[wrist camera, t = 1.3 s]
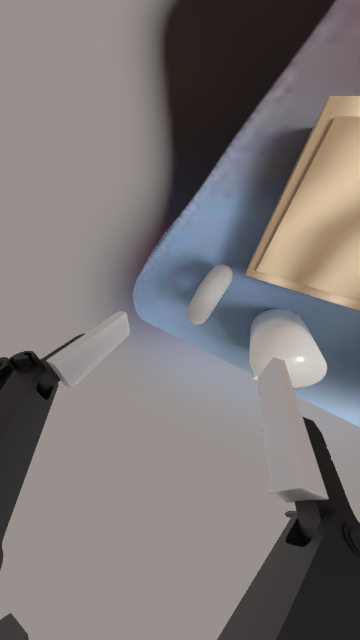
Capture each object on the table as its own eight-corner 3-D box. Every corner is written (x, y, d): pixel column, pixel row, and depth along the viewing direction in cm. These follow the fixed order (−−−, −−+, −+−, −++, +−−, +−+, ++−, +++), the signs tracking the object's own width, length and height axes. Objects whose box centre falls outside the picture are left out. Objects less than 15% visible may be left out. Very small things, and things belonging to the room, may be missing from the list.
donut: (222, 255, 22) (205, 267, 15) (241, 265, 22) (233, 283, 14) (196, 302, 29) (175, 328, 21) (210, 311, 28) (194, 340, 21)
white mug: (318, 320, 21) (348, 362, 14) (276, 361, 28) (283, 404, 21) (264, 301, 23) (269, 331, 16) (237, 344, 30) (231, 378, 23)
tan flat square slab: (525, 136, 10) (654, 91, 7) (350, 300, 19) (370, 314, 15) (313, 126, 13) (331, 93, 10) (246, 269, 22) (244, 275, 19)
